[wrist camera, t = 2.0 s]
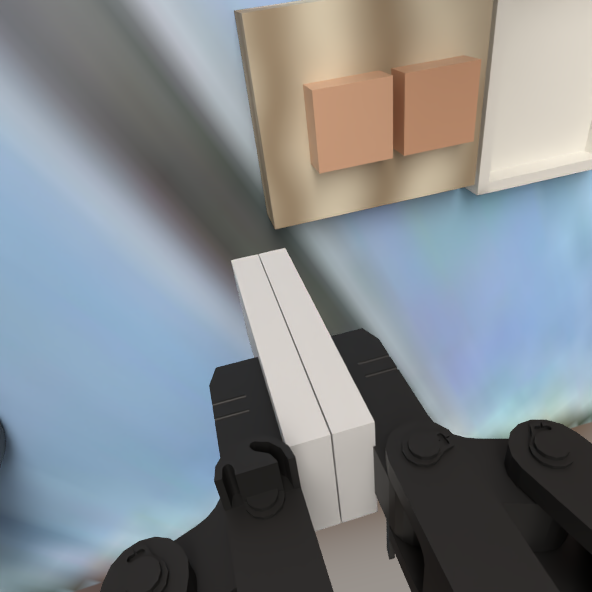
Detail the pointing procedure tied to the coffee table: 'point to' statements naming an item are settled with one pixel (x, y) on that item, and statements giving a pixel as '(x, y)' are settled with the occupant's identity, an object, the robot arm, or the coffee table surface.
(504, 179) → the tray
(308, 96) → the tile front
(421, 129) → the tile rear
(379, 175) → the board
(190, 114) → the coffee table surface
